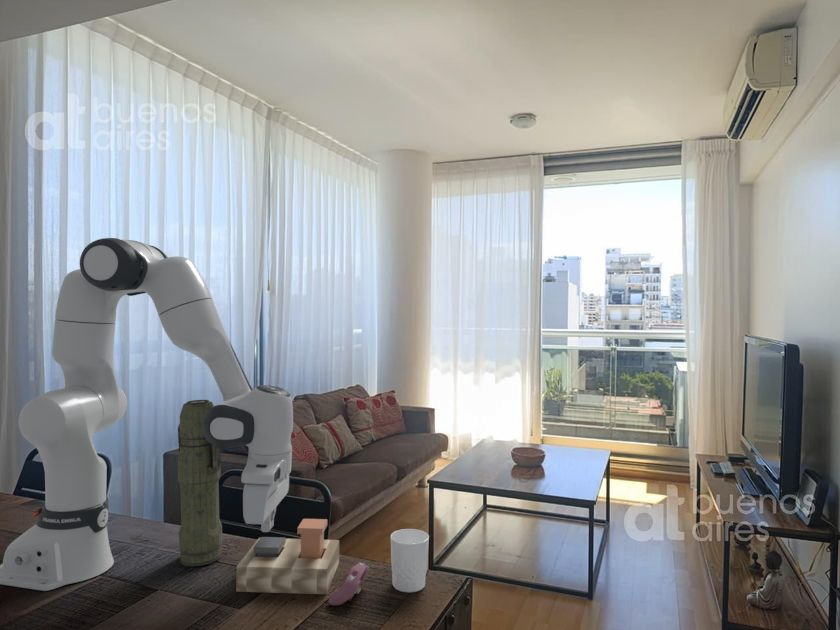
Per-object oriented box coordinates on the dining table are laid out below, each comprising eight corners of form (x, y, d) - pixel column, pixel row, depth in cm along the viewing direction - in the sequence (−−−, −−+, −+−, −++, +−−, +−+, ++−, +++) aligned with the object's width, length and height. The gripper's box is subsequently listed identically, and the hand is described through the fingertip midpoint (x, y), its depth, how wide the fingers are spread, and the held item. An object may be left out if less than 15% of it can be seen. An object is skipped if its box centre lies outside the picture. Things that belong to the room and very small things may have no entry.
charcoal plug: (253, 579, 115) (253, 546, 115) (260, 567, 120) (261, 536, 120) (278, 580, 115) (278, 547, 115) (284, 568, 120) (285, 537, 120)
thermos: (195, 546, 131) (192, 397, 131) (235, 553, 127) (232, 399, 127) (165, 562, 123) (161, 403, 123) (207, 570, 118) (203, 405, 118)
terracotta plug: (296, 560, 115) (297, 528, 114) (302, 549, 120) (303, 518, 120) (322, 561, 114) (322, 528, 114) (326, 550, 120) (327, 519, 120)
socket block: (236, 591, 110) (236, 566, 110) (258, 560, 124) (259, 537, 124) (326, 594, 110) (327, 569, 110) (338, 562, 124) (339, 540, 124)
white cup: (391, 575, 119) (392, 528, 119) (428, 576, 118) (429, 529, 118) (388, 593, 111) (388, 543, 111) (427, 595, 110) (428, 544, 110)
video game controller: (345, 617, 105) (362, 585, 104) (325, 603, 106) (341, 572, 105) (361, 591, 115) (376, 562, 114) (342, 579, 115) (357, 550, 115)
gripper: (269, 450, 128) (267, 510, 128) (238, 477, 107) (235, 548, 107) (297, 452, 128) (294, 512, 128) (270, 478, 107) (267, 550, 107)
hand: (267, 529), depth 117 cm, fingers closed
